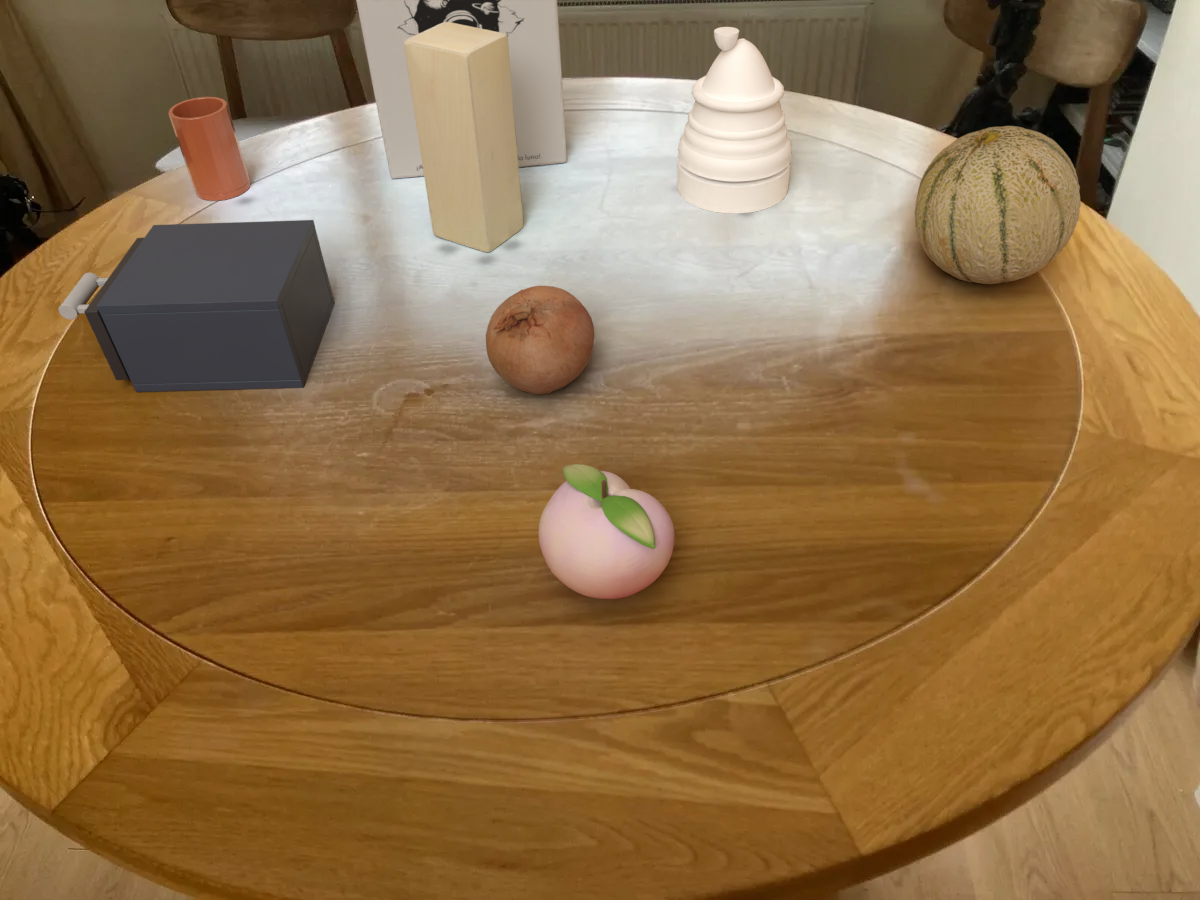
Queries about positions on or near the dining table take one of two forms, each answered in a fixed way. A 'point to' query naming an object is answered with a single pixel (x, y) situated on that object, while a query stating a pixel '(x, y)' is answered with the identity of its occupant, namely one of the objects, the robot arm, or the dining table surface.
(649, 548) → the decorative fruit
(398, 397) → the dining table surface
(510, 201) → the tall wooden block
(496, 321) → the onion
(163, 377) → the cabinet
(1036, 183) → the cantaloupe
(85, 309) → the drawer
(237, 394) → the dining table surface
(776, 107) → the honey pot
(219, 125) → the cup
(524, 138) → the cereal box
